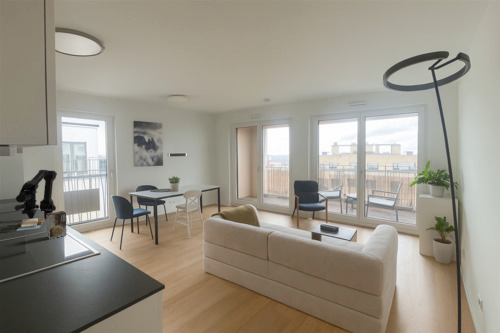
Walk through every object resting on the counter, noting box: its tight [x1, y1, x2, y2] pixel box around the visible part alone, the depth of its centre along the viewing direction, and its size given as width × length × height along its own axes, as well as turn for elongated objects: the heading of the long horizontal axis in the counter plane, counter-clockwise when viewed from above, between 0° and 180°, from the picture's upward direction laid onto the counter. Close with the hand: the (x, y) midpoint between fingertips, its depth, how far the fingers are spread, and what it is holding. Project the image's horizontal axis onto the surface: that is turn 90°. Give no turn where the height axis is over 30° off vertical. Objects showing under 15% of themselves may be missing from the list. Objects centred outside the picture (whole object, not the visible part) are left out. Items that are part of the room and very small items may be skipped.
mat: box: [16, 225, 42, 232], centre depth 171 cm, size 8×12×1 cm, turn 122°
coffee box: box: [45, 210, 68, 240], centre depth 156 cm, size 9×6×16 cm
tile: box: [21, 217, 39, 228], centre depth 173 cm, size 6×8×2 cm
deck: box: [18, 216, 46, 228], centre depth 180 cm, size 13×12×3 cm
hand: (30, 220), depth 175 cm, fingers closed
